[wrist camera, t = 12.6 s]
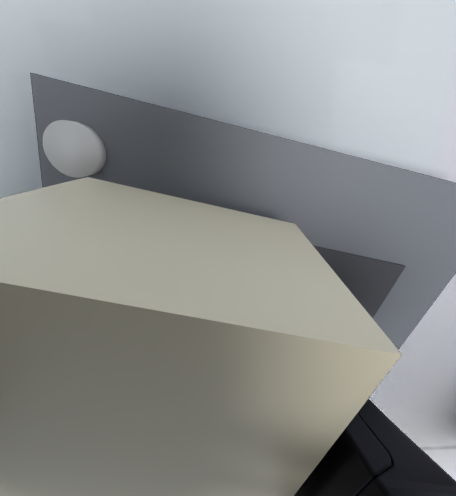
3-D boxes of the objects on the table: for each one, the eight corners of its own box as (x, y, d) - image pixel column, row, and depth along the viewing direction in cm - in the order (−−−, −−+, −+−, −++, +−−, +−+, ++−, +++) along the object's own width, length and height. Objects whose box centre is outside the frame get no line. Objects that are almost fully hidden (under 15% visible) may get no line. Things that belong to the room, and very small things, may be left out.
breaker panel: (446, 184, 12) (530, 200, 8) (290, 439, 22) (301, 492, 18) (83, 91, 10) (14, 66, 7) (93, 413, 20) (66, 466, 17)
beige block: (295, 223, 8) (401, 354, 3) (244, 361, 11) (256, 544, 6) (87, 176, 7) (-199, 246, 2) (91, 336, 10) (-37, 516, 5)
